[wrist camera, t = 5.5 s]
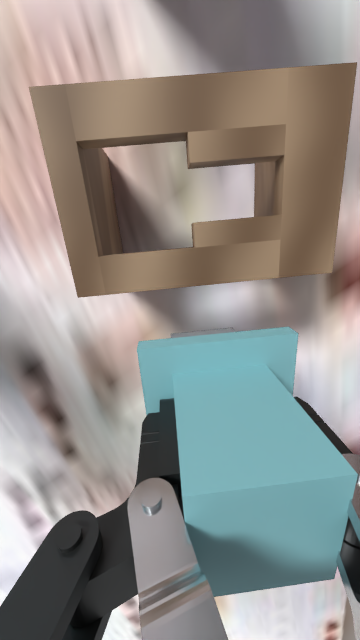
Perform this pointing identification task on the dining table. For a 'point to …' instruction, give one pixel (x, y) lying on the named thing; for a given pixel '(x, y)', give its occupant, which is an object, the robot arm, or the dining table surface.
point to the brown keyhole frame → (203, 151)
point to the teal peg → (249, 458)
